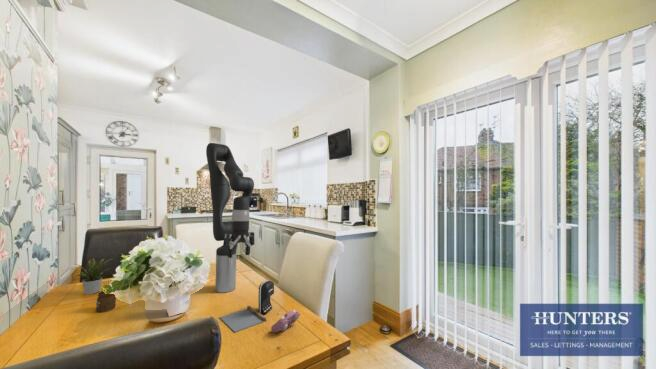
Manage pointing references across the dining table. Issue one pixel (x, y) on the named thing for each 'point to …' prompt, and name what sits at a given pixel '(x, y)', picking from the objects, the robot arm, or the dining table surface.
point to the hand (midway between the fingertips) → (238, 256)
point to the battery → (265, 296)
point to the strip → (256, 313)
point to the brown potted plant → (105, 301)
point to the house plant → (92, 277)
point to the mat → (241, 320)
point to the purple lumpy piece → (285, 321)
